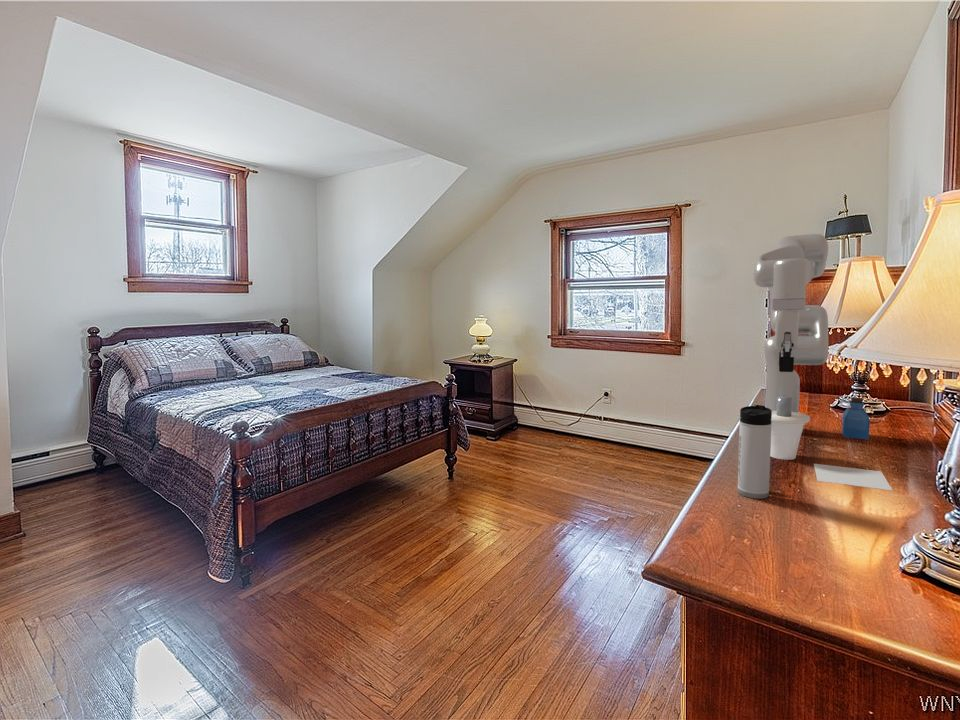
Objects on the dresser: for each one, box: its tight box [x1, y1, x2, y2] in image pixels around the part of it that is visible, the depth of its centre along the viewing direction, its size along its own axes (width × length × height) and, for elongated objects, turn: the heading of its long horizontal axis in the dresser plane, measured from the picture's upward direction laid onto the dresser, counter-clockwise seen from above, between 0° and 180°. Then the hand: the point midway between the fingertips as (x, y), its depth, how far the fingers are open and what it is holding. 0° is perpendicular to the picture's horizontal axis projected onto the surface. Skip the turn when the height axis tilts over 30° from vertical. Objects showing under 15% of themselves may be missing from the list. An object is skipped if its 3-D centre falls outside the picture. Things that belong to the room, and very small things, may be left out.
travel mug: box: [737, 404, 772, 500], centre depth 112 cm, size 6×7×20 cm
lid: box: [771, 396, 811, 425], centre depth 136 cm, size 12×12×6 cm
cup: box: [770, 422, 805, 461], centre depth 137 cm, size 10×10×11 cm
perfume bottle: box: [841, 397, 871, 440], centre depth 156 cm, size 6×6×12 cm
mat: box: [813, 463, 894, 491], centre depth 121 cm, size 14×14×1 cm
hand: (785, 369), depth 135 cm, fingers open, 9 cm apart
